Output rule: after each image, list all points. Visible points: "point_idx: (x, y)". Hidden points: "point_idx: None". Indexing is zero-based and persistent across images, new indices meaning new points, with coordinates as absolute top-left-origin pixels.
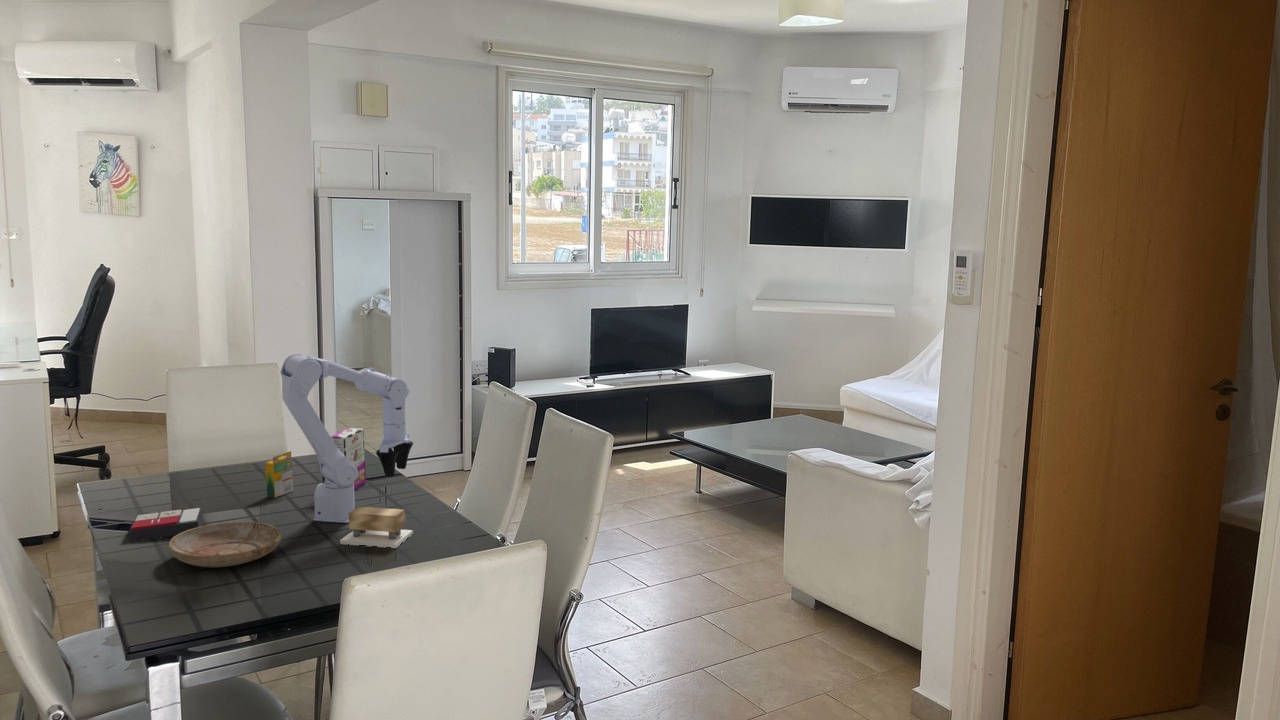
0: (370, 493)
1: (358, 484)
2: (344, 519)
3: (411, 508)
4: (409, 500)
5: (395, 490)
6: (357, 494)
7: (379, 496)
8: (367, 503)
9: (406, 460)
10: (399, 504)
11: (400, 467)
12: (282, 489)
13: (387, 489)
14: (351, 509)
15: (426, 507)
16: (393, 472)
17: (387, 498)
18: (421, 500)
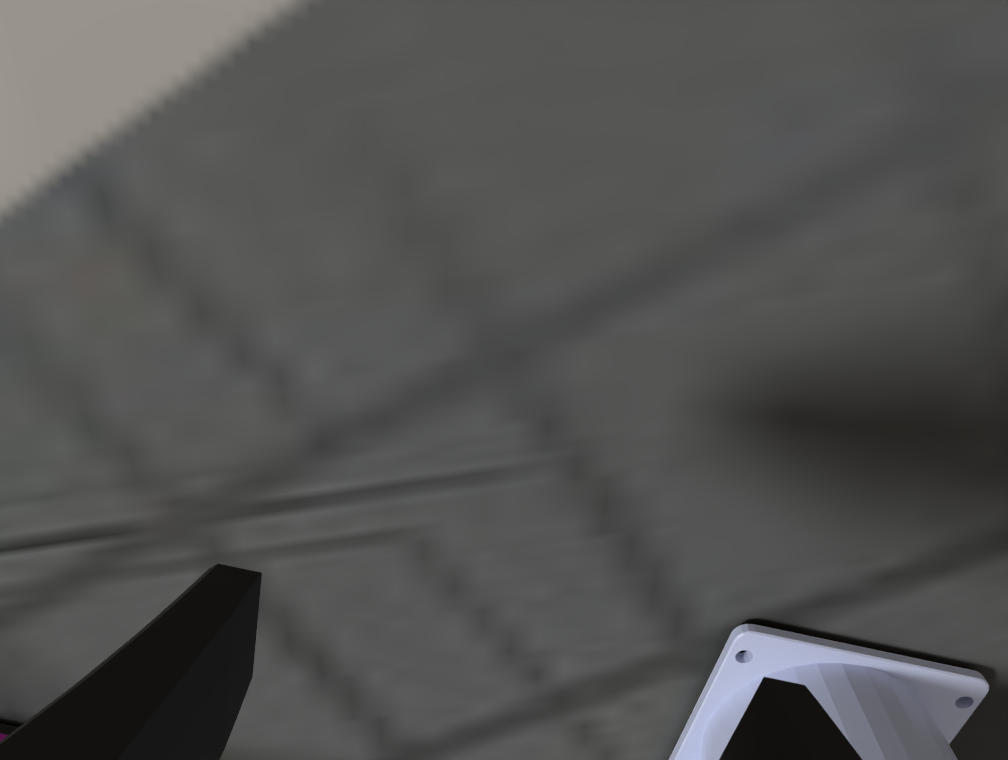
0: None
1: None
2: (930, 710)
3: (601, 219)
4: (310, 288)
5: (11, 469)
6: None
7: None
8: (432, 619)
9: (151, 685)
10: (455, 365)
11: (248, 654)
12: None
13: (4, 536)
14: (922, 737)
15: (572, 37)
16: (851, 749)
17: (271, 497)
18: (295, 152)
